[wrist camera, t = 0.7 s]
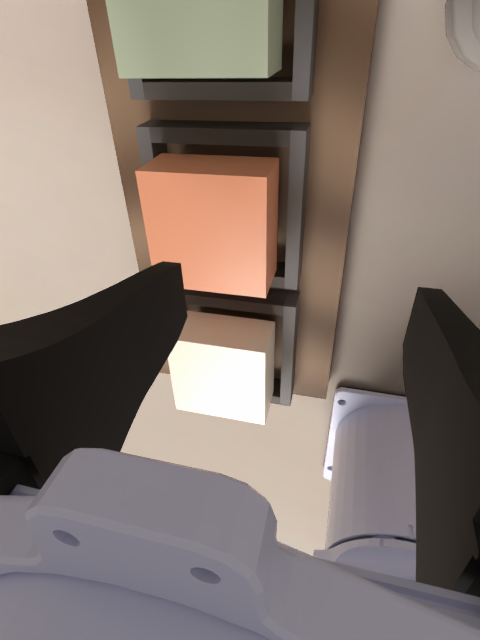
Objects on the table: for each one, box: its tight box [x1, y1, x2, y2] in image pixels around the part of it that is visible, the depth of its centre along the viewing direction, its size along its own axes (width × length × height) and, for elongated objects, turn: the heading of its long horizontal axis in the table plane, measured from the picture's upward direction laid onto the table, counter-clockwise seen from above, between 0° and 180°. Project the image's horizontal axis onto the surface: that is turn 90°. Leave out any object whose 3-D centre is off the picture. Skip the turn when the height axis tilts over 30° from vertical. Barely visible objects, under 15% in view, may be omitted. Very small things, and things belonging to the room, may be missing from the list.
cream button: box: [168, 311, 275, 425], centre depth 22 cm, size 5×5×2 cm
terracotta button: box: [135, 153, 279, 298], centre depth 17 cm, size 5×5×2 cm
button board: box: [86, 0, 379, 406], centre depth 20 cm, size 24×11×3 cm, turn 2°
